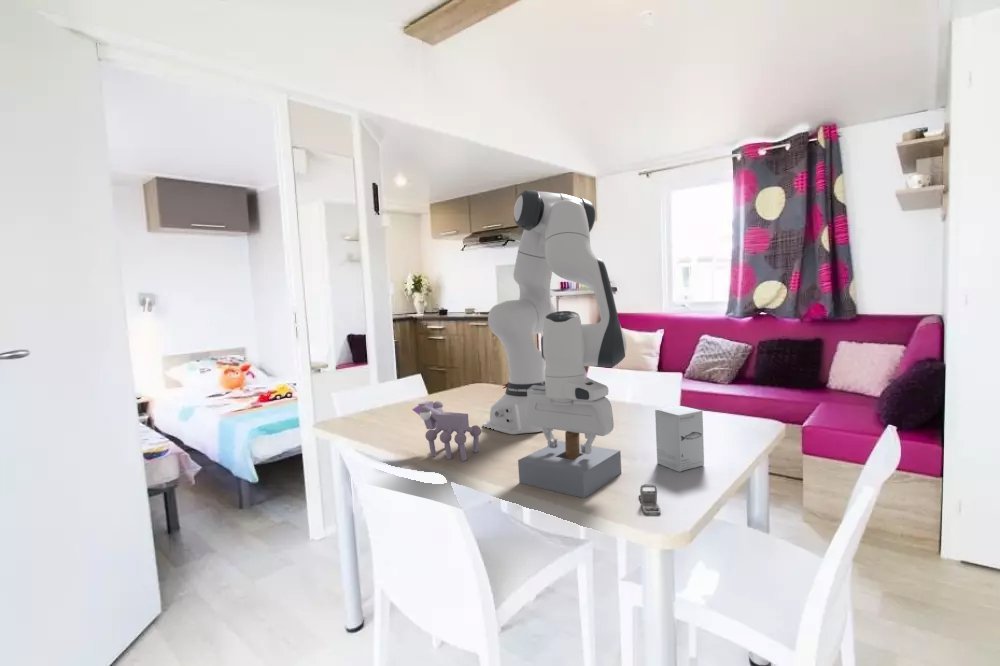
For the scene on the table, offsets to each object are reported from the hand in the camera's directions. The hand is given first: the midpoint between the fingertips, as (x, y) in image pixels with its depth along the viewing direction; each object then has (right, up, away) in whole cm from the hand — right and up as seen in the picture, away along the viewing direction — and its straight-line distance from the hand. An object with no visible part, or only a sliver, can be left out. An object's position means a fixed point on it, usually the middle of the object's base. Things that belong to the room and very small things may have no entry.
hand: (569, 450), depth 109 cm
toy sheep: (-30, -7, +25) cm, 39 cm away
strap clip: (+13, -7, -16) cm, 21 cm away
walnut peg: (+1, -6, 0) cm, 6 cm away
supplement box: (+26, -4, +4) cm, 26 cm away
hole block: (0, -6, 0) cm, 6 cm away
